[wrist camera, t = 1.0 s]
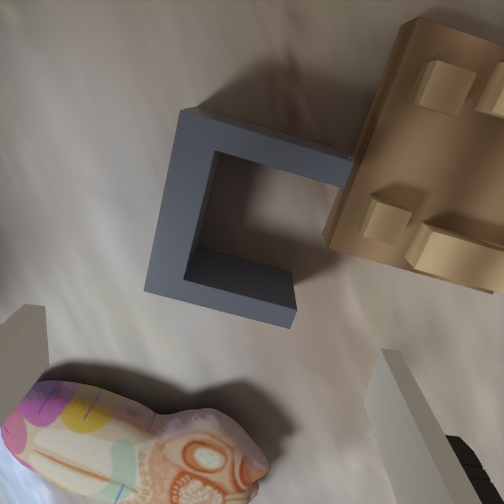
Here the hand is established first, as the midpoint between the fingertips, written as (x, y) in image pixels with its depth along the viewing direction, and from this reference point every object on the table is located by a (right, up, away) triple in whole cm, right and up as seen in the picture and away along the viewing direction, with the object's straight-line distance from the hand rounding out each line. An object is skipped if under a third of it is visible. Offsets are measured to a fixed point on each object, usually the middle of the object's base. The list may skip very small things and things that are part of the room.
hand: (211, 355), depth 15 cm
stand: (+15, +10, +13) cm, 23 cm away
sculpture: (-9, -15, +25) cm, 31 cm away
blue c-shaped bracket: (+1, +8, +15) cm, 17 cm away
